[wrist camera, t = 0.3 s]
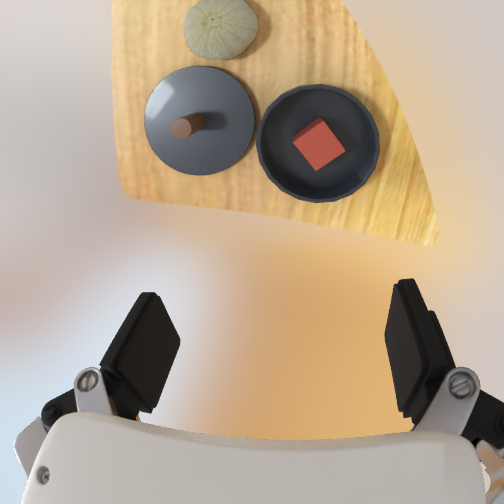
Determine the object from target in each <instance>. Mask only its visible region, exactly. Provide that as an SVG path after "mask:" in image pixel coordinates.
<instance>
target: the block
mask: <svg viewBox="0 0 504 504" xmlns="http://www.w3.org/2000/svg"><path fill="white" fill-rule="evenodd" d="M293 143H294V144H295V145H296V147H297V148H298V149H299V150H300V152H301V153H302V154H303V155H304V157H305V158H306V159H307V160H308V162H309V163H310V164H311V166H312V167H313V168H314V169H315V171H317V170H319V169H320V168H321V167H323V166H324V165H326V164H327V163H329V162H330V161H332V160H333V159H335V158H336V157H338V156H339V155H341V154H342V153H344V152H345V151H346V150H345V149H344V148H343V146H342V145H341V143H340V142H339V141H338V139H337V138H336V137H335V135H334V134H333V132H332V131H331V130H330V128H329V127H328V126H327V125H326V123H325V122H324V121H323V119H322V118H321V117H319V118H317V119H316V120H314V121H313V122H311V123H310V124H309V125H307V126H306V127H304V128H303V129H302V130H300V131H299V132H297V133H296V134H295V135H293Z"/></svg>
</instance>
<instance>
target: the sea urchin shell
mask: <svg viewBox="0 0 504 504" xmlns="http://www.w3.org/2000/svg"><path fill="white" fill-rule="evenodd" d="M258 25H259V24H258V21H257V18H256V15H255V13H254V12H253V10H252V9H251V8H250V7H249V5H248V3H246V2H245V1H243V0H202V1H200V2H199V3H197V4H196V5H194V6H193V7H192V8H191V9H190V11H189V12H188V14H187V16H186V19H185V22H184V36H185V39H186V43H187V46H188V47H189V49H190V51H192V52H194V53H195V54H197V55H199V57H202V58H208V59H210V60H228V59H231V58H234V57H235V56H237V55H238V54H240V53H241V52H243V51H244V50H245V49H246V48H247V47H248V46H249V44H251V42H253V40H254V39H255V36H256V34H257V31H258Z"/></svg>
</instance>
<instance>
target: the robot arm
mask: <svg viewBox="0 0 504 504" xmlns="http://www.w3.org/2000/svg"><path fill="white" fill-rule="evenodd" d="M385 343H386V347H387V352H388V356H389V361H390V366H391V371H392V376H393V382H394V387H395V393H396V399H397V405H398V410H399V412H403V417H404V418H408V417H411V419H412V423H413V424H414V426H413V427H412V429H411V430H410V432H401V433H392V434H383V435H375V436H366V437H355V438H343V439H342V438H341V439H324V440H266V439H264V440H263V439H248V438H235V437H225V436H216V435H208V434H201V433H194V432H188V431H182V430H176V429H171V428H166V427H160V426H156V425H151V424H147V423H142V422H141V421H140V418H139V416H138V414H139V411H141V412H146V413H150V414H151V413H152V410H153V408H155V407H156V406H157V404H158V401H159V399H160V396H161V393H162V391H163V388H164V385H165V383H166V380H167V377H168V375H169V372H170V370H171V367H172V364H173V362H174V359H175V357H176V354H177V351H178V349H179V346H180V337H179V335H178V333H177V331H176V329H175V327H174V325H173V323H172V321H171V319H170V317H169V315H168V313H167V311H166V308H165V306H164V304H163V302H162V300H161V298H160V296H157V294H156V293H155V292H143V293H141V294H140V296H139V297H138V299H137V300H136V302H135V304H134V305H133V307H132V309H131V310H130V312H129V314H128V315H127V317H126V319H125V320H124V322H123V324H122V325H121V327H120V329H119V330H118V332H117V334H116V336H115V337H114V339H113V341H112V343H111V344H110V346H109V348H108V350H107V351H106V353H105V355H104V357H103V359H102V360H101V362H100V364H99V365H100V366H101V368H100V370H99V369H97V368H95V367H89V368H86V369H84V370H83V371H81V372H80V373H79V374H78V375H77V377H76V379H75V382H74V388H73V389H72V390H70V391H68V392H66V393H64V394H62V395H60V396H58V397H56V398H54V399H52V400H50V401H49V402H48V403H46V405H45V406H44V407H43V409H42V413H41V418H40V417H37V418H36V419H35V420H34V421H33V422H32V423H31V424H30V425H29V426H27V427H26V428H25V429H24V430H23V431H22V432H21V433H20V434H19V435H18V436H17V437H16V438H15V440H14V446H13V447H14V451H15V453H16V456H17V458H18V460H19V463H20V465H21V467H22V469H23V471H24V474H25V476H26V478H27V480H28V481H27V484H26V487H25V490H24V493H23V497H22V501H21V504H504V403H503V402H502V401H500V400H498V399H496V398H494V397H493V396H491V395H489V394H487V393H485V392H484V391H482V390H480V380H479V378H478V376H477V375H476V373H475V372H473V371H472V370H470V369H469V368H465V367H457V368H456V366H455V363H454V360H453V358H452V355H451V352H450V349H449V346H448V344H447V341H446V339H445V336H444V334H443V331H442V328H441V326H440V323H439V321H438V319H437V316H436V314H435V312H434V311H432V310H431V311H428V309H427V307H426V305H425V302H424V300H423V298H422V296H421V293H420V291H419V288H418V286H417V284H416V282H415V280H414V279H413V278H411V279H402V280H399V281H398V284H394V288H393V293H392V299H391V304H390V309H389V314H388V319H387V324H386V329H385ZM480 462H482V463H483V464H484V465H485V466H486V469H485V470H486V472H487V473H488V474H489V476H490V478H491V485H490V488H489V490H488V492H487V493H486V495H485V487H484V479H483V473H482V468H481V465H480Z"/></svg>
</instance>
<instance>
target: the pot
mask: <svg viewBox="0 0 504 504" xmlns="http://www.w3.org/2000/svg"><path fill="white" fill-rule="evenodd" d="M319 117H321V118H322V119H323V121H324V122H325V123H326V125H327V126H328V127H329V128H330V130H331V131H332V132H333V134H334V135H335V137H336V138H337V139H338V141H339V142H340V143H341V145H342V146H343V148H344V149H345V150H346V151H345V152H344V153H342V154H341V155H339V156H338V157H336V158H335V159H333V160H332V161H330V162H329V163H327V164H326V165H324V166H323V167H321V168H320V169H319V170H317V171H315V169H314V168H313V167H312V166H311V164H310V163H309V162H308V160H307V159H306V158H305V157H304V155H303V154H302V153H301V152H300V150H299V149H298V148H297V147H296V145H295V144H294V143H293V135H295V134H296V133H297V132H299V131H300V130H302V129H303V128H304V127H306V126H307V125H309V124H310V123H311V122H313V121H314V120H316V119H317V118H319ZM256 147H257V152H258V157H259V162H260V164H261V166H262V167H263V169H264V171H265V173H266V175H267V176H268V178H269V179H270V180H271V181H272V182H273V183H274V184H275V185H276V186H277V187H278V188H279V189H280V190H281V191H283V192H285V193H287V194H289V195H291V196H292V197H294V198H296V199H299V200H303V201H309V202H314V203H322V202H334V201H337V200H339V199H342V198H344V197H347V196H350V195H352V194H353V193H354V192H355V191H357V190H358V189H359V188H360V187H362V186H363V185H364V184H365V183H366V182H367V180H368V179H369V177H370V176H371V174H372V173H373V171H374V170H375V167H376V164H377V160H378V156H379V153H380V144H379V132H378V129H377V127H376V124H375V122H374V119H373V117H372V115H371V113H370V112H369V111H368V110H367V109H366V107H365V106H364V105H363V104H362V103H361V102H360V101H359V100H358V99H357V98H355V97H354V96H352V95H351V94H349V93H347V92H346V91H344V90H342V89H340V88H336V87H332V86H327V85H323V84H312V85H302V86H298V87H295V88H293V89H291V90H289V91H287V92H284V93H283V94H281V95H280V96H279V97H278V98H277V99H276V100H275V101H274V102H273V103H272V104H271V105H270V106H269V107H268V108H267V109H266V111H265V113H264V115H263V117H262V119H261V121H260V123H259V125H258V132H257V140H256Z"/></svg>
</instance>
